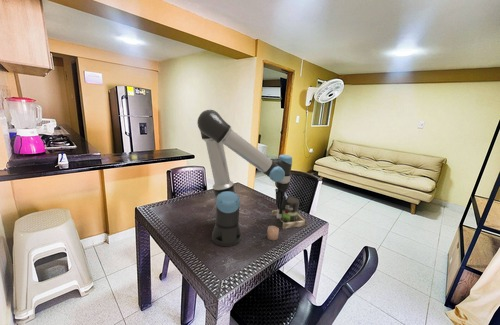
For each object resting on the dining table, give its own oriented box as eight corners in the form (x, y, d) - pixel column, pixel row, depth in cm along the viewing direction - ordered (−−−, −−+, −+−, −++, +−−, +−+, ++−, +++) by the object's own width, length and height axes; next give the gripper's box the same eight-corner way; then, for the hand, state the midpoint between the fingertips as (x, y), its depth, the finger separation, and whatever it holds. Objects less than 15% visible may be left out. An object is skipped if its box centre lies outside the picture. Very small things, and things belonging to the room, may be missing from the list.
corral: (283, 228, 120) (283, 224, 119) (271, 214, 135) (272, 210, 134) (305, 225, 125) (306, 221, 124) (292, 212, 140) (292, 208, 139)
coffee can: (293, 226, 123) (296, 204, 120) (277, 221, 128) (279, 199, 124) (298, 219, 132) (301, 198, 128) (283, 214, 137) (285, 194, 133)
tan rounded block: (269, 241, 108) (270, 232, 107) (265, 234, 114) (265, 226, 112) (279, 239, 110) (280, 231, 109) (275, 233, 116) (275, 225, 114)
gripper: (294, 185, 117) (289, 222, 123) (283, 177, 128) (279, 212, 134) (282, 185, 114) (278, 224, 120) (272, 177, 126) (269, 213, 132)
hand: (278, 217), depth 127 cm, fingers closed
